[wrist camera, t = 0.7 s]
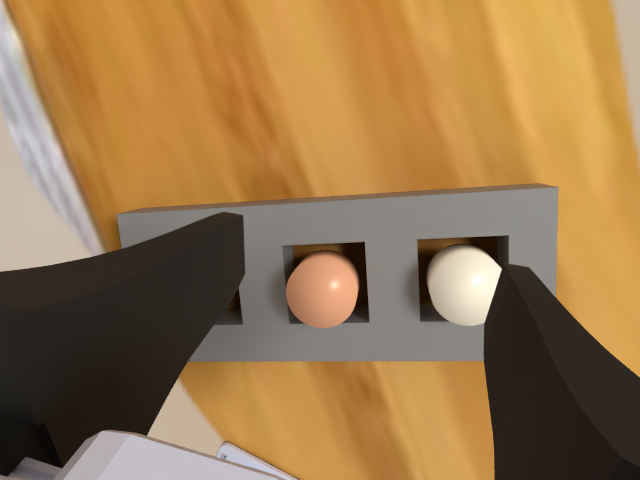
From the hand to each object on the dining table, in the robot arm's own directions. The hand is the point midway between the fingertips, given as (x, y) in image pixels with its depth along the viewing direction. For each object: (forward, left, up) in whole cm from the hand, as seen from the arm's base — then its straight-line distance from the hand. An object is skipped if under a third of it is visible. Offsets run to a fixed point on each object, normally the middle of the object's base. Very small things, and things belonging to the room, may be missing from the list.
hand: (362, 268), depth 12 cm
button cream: (-2, -6, -14) cm, 16 cm away
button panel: (-6, +1, -17) cm, 18 cm away
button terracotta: (-6, +1, -14) cm, 15 cm away
